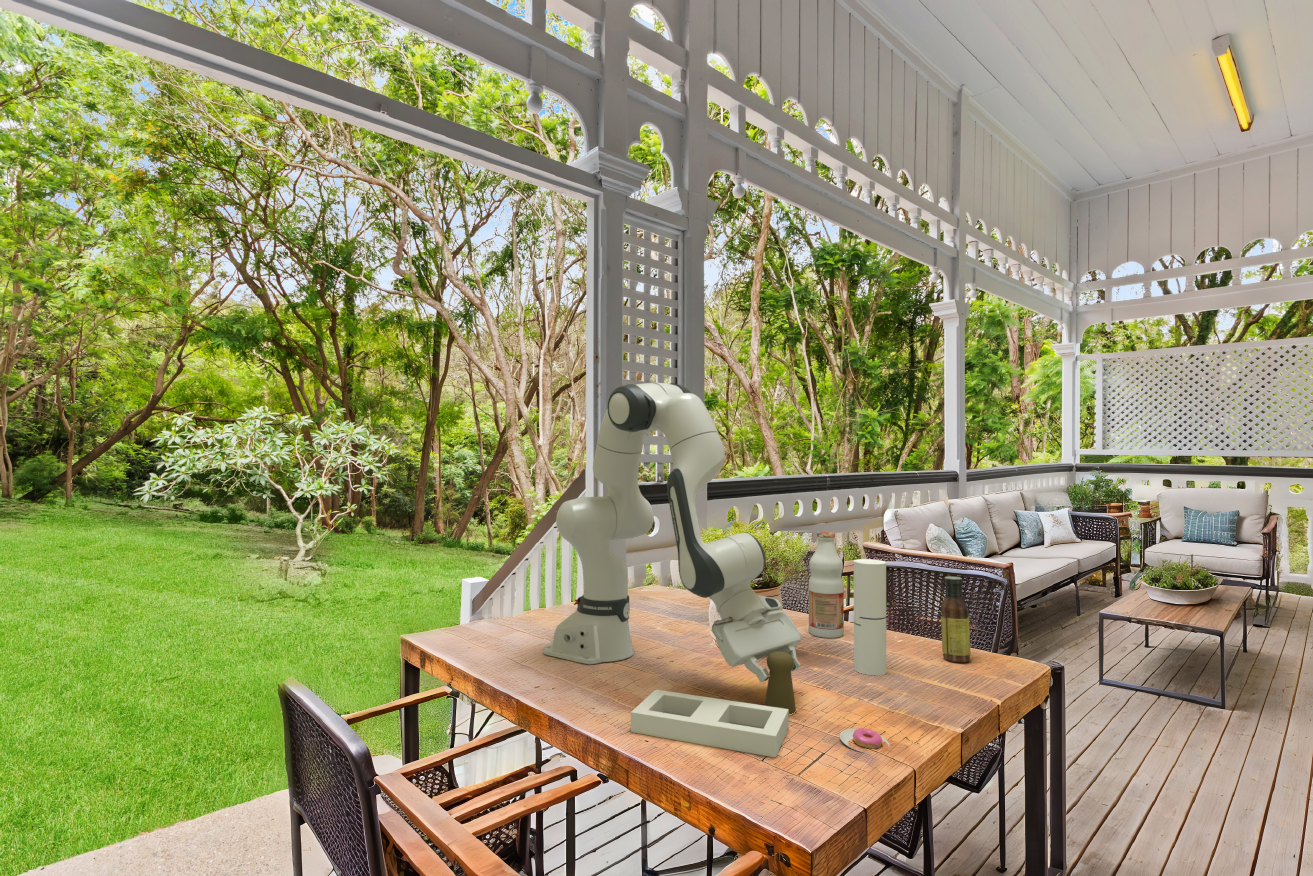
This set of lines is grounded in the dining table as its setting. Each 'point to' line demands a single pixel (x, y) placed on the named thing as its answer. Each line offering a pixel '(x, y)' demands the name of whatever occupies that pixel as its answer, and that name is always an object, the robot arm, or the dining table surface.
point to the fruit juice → (826, 589)
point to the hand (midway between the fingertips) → (781, 674)
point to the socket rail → (712, 722)
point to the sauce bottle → (955, 623)
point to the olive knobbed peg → (780, 681)
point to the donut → (862, 738)
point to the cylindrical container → (870, 616)
